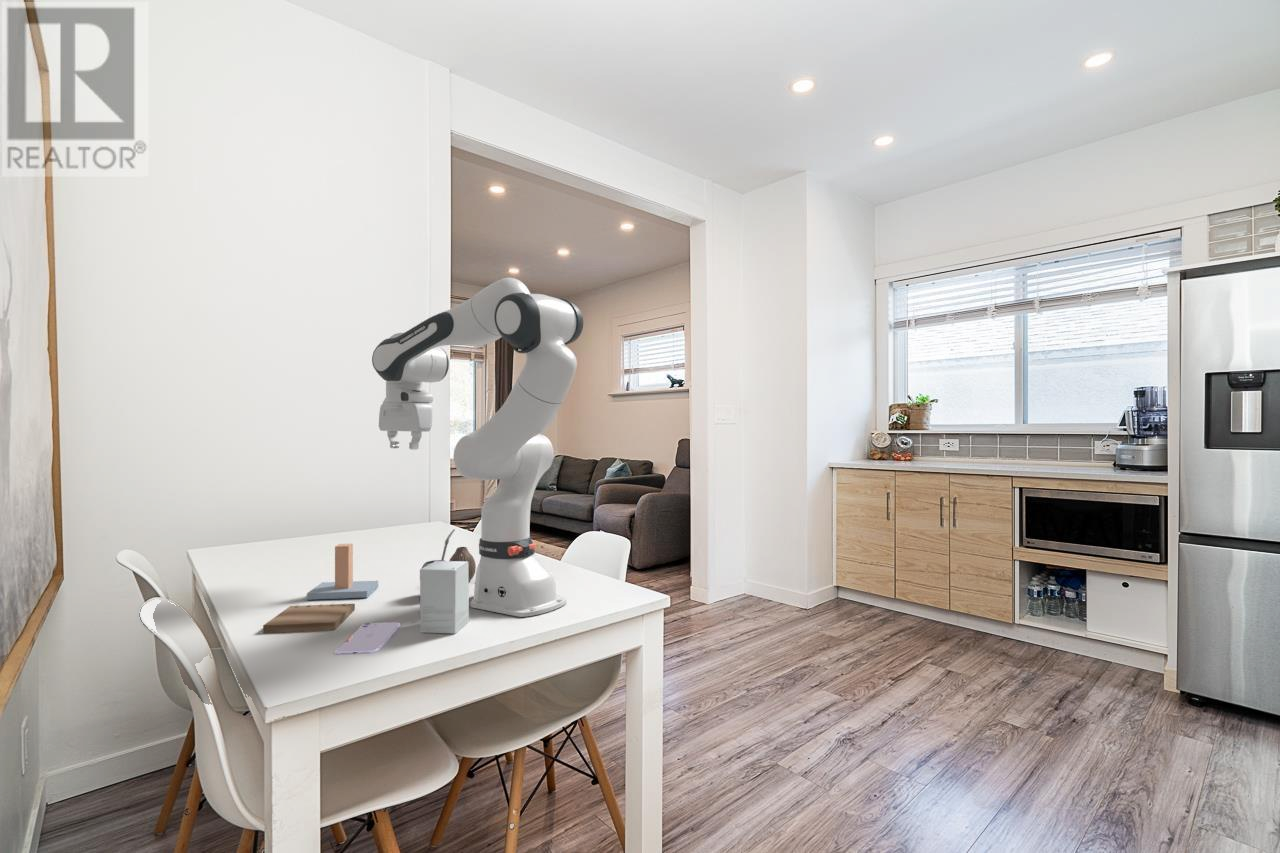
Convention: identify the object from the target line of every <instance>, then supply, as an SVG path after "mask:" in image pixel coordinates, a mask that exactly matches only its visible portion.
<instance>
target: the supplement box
mask: <svg viewBox="0 0 1280 853" xmlns="http://www.w3.org/2000/svg"><path fill="white" fill-rule="evenodd" d="M421 568H422V567H421ZM421 568H420V569H419V586H420V587H419V588H420V589H419V595H420V596H419V598H420V599H419V602H420V604H419V605H420V606H419V608H420V611H419V612H420V614H419V616H420V617H419V619H420V624H419V626H420V634H421V633H422V634H423V633H429V634H456V633H458V632H459V631H460V630H462V628H464V626H466V625H467V624H468V623H469V622H470V615H469V614H470V604H469V601H470V598H469V595H470V594H469V592H470V591H469V584H470V583H469V582H470V581H469V575H468V574H469V572H468V561H449V560H444V561H434V562H433V563H431V564H429V565H427V566H425V567H424V568H422V569H421ZM466 623H467V624H466ZM465 624H466V625H465Z"/></svg>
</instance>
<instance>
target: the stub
mask: <svg viewBox="0 0 1280 853" xmlns="http://www.w3.org/2000/svg"><path fill="white" fill-rule="evenodd" d="M353 548H354V543H338V544H337V545H335V546H334V581H327V582H326V581H325V582H321V583H320V584H318V585H317V586H315V587H313V588H312V589H310V591H308V592H307V593H306V600H307V601H309V600H310V601H311V600H313V601H315V600H335V599H336V600H338V599H341V600H342V599H360V598H368V597H369V596H370V595H371V594H372V593H373V592H375V591H376V590H377V588H378V587H379V580H361V581H360V580H359V581H357V580H356V581H354V579H353V577H354V574H353V573H354V570H353V569H354V567H353V566H354V564H353V563H354V562H353V561H354V556H353V555H354V550H353Z"/></svg>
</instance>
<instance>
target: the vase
mask: <svg viewBox="0 0 1280 853" xmlns="http://www.w3.org/2000/svg"><path fill="white" fill-rule="evenodd" d="M448 561H468V572H469V574H468V575H469V582H470V581H472V579H473V578H474V577H475V575H476V570H477V568H476V560H475V558H474V556H473V555H472V554H471V552H470V551H469V549H468V547H466V546H459V547H457V548H456V550H455V551H454V553H452V555H451V557H450V558H449V560H448Z"/></svg>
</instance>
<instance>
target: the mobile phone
mask: <svg viewBox="0 0 1280 853" xmlns="http://www.w3.org/2000/svg"><path fill="white" fill-rule="evenodd" d="M399 626H400V627H401V623H400V622H397V621H396V622H395V621H393V622H367V623H363V624H361V626H359V627H358V628H357V629H356V630H355V631H354V632H353V633H352V634H351V635H349V637H348V638H347V639H346V640H345V641H344V642H342V644H340V645H339V647H337V648H336V649H335V651H334V654H336V655H352V654H354V655H355V654H356V653H357V654H358V653H359V654H373V653H374V654H375V653H377V652H379V651H380V650H381V649H382V648H381V647H384V646H385V644H386V643H387V642H388V641H389V640H390V639H391V637H392V636H393V635H394V634H395V633H396V632H397V630H398V629H399V628H400V627H399ZM398 627H399V628H398ZM397 628H398V629H397ZM394 632H395V633H394ZM393 633H394V634H393ZM392 634H393V635H392ZM387 640H388V641H387ZM357 654H356V655H357Z"/></svg>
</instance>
